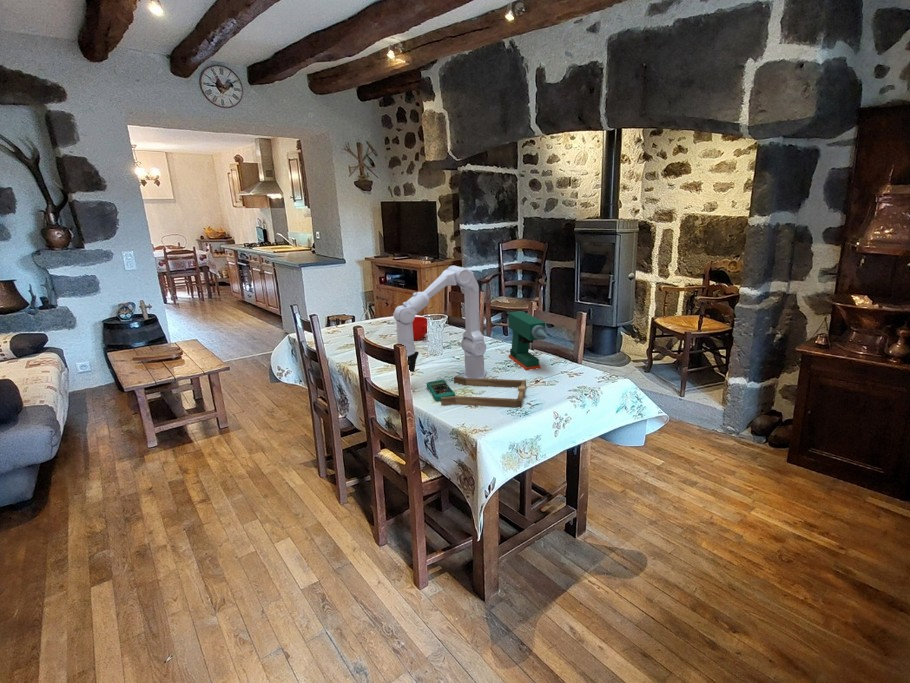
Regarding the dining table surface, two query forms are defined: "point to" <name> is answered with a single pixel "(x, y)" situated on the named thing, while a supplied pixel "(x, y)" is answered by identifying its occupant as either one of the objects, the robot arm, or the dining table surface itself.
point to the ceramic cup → (419, 327)
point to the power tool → (525, 338)
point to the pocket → (484, 400)
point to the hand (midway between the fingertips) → (408, 374)
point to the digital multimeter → (440, 389)
